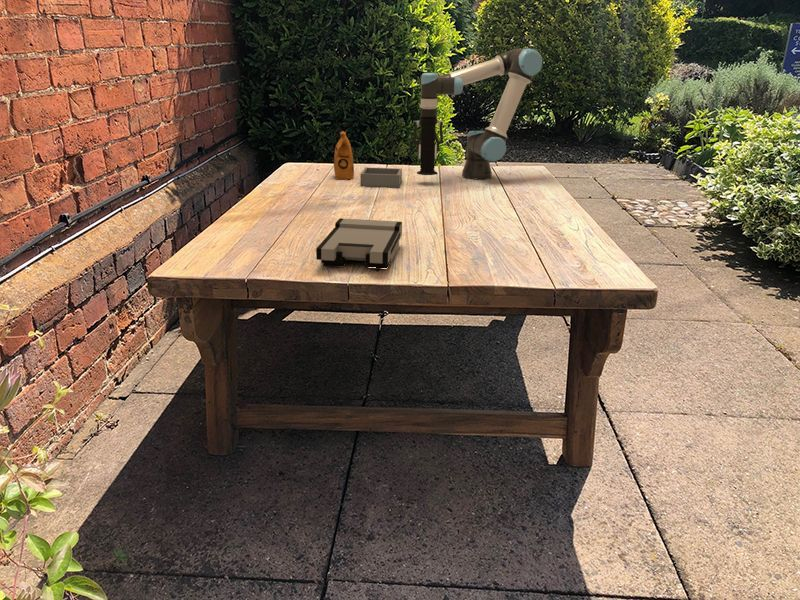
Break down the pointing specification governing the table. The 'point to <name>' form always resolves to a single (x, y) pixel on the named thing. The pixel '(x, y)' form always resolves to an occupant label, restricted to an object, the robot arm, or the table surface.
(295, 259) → the table surface
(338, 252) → the office tray
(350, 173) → the coffee package
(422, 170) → the black upright pillar
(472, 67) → the robot arm
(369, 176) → the box
